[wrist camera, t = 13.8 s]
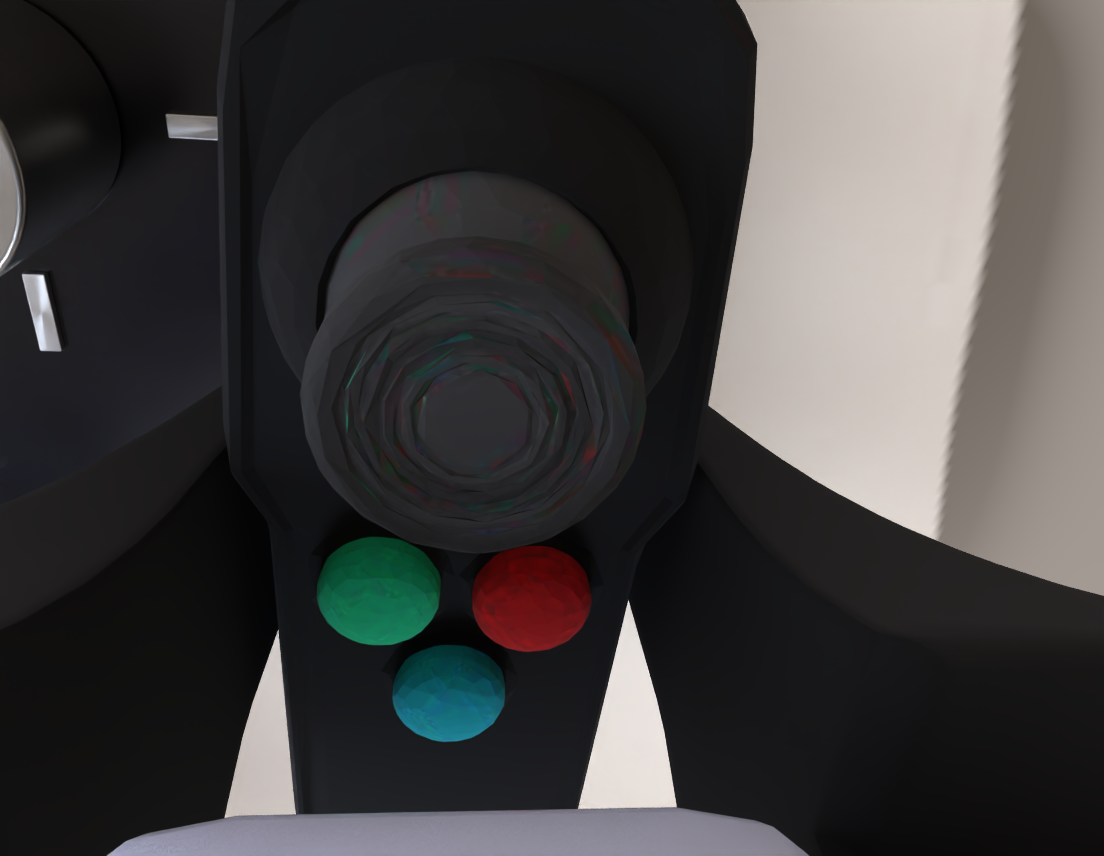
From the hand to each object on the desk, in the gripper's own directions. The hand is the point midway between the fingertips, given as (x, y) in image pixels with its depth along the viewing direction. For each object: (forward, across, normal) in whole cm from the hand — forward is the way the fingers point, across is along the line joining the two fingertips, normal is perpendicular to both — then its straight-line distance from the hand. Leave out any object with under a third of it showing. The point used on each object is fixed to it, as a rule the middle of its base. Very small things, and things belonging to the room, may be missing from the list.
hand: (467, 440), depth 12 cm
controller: (+5, 0, 0) cm, 5 cm away
